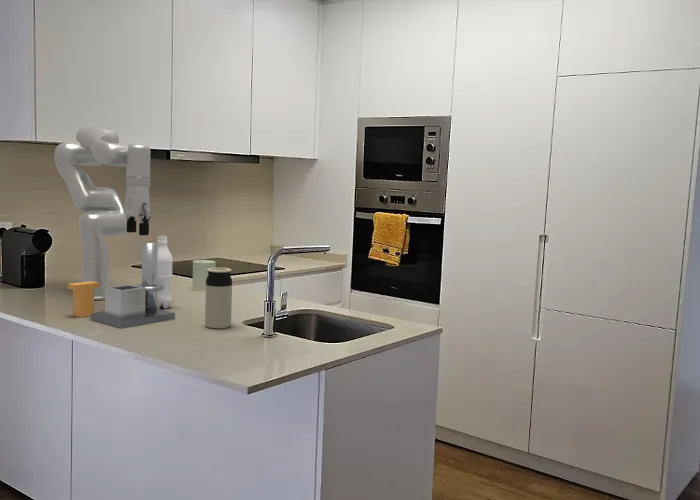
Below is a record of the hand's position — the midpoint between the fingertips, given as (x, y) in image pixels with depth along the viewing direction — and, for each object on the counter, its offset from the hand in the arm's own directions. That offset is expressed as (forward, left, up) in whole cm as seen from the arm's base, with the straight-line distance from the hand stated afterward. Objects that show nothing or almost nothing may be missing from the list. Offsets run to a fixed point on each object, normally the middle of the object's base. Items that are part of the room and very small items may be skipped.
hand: (137, 233), depth 230 cm
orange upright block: (-4, -18, -26) cm, 32 cm away
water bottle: (+2, +8, -26) cm, 28 cm away
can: (-16, +43, -26) cm, 53 cm away
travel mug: (+36, +3, -26) cm, 45 cm away
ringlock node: (+11, -10, -26) cm, 30 cm away
